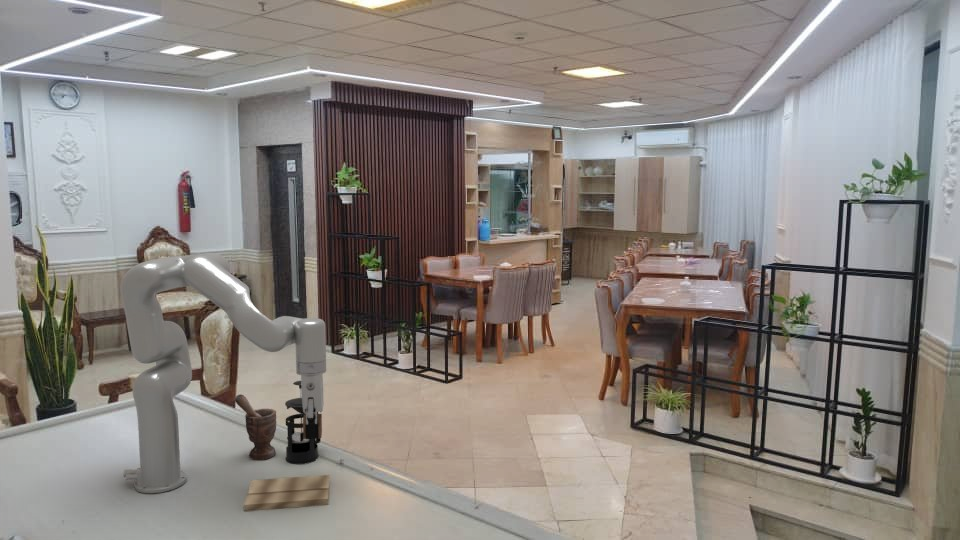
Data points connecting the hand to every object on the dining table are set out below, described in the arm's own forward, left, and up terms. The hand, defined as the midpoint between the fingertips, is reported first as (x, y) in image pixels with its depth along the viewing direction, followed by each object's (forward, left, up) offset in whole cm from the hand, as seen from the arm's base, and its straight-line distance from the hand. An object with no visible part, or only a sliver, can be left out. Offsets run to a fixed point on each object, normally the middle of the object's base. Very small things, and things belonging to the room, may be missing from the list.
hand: (312, 434), depth 173 cm
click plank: (-6, 0, -15) cm, 16 cm away
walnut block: (0, 0, 0) cm, 0 cm away
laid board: (-6, -7, -15) cm, 18 cm away
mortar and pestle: (-17, +24, -15) cm, 33 cm away
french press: (-4, +22, -15) cm, 27 cm away
